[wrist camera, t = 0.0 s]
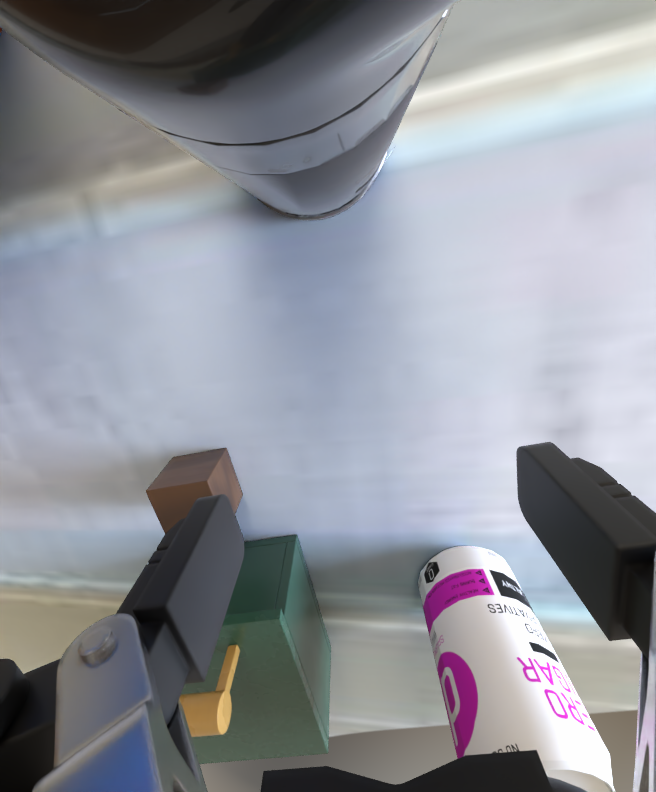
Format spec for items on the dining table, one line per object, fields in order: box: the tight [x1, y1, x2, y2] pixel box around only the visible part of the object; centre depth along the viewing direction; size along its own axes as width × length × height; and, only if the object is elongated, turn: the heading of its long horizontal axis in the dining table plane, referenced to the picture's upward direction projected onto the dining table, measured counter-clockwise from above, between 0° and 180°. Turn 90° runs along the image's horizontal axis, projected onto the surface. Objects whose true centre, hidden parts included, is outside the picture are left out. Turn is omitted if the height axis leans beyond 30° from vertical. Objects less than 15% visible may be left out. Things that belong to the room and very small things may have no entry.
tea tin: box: [226, 535, 331, 739], centre depth 32 cm, size 15×12×8 cm
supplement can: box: [418, 546, 615, 792], centre depth 27 cm, size 8×8×15 cm
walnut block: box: [146, 448, 243, 534], centre depth 28 cm, size 5×5×5 cm
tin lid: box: [179, 608, 328, 764], centre depth 26 cm, size 15×12×6 cm
